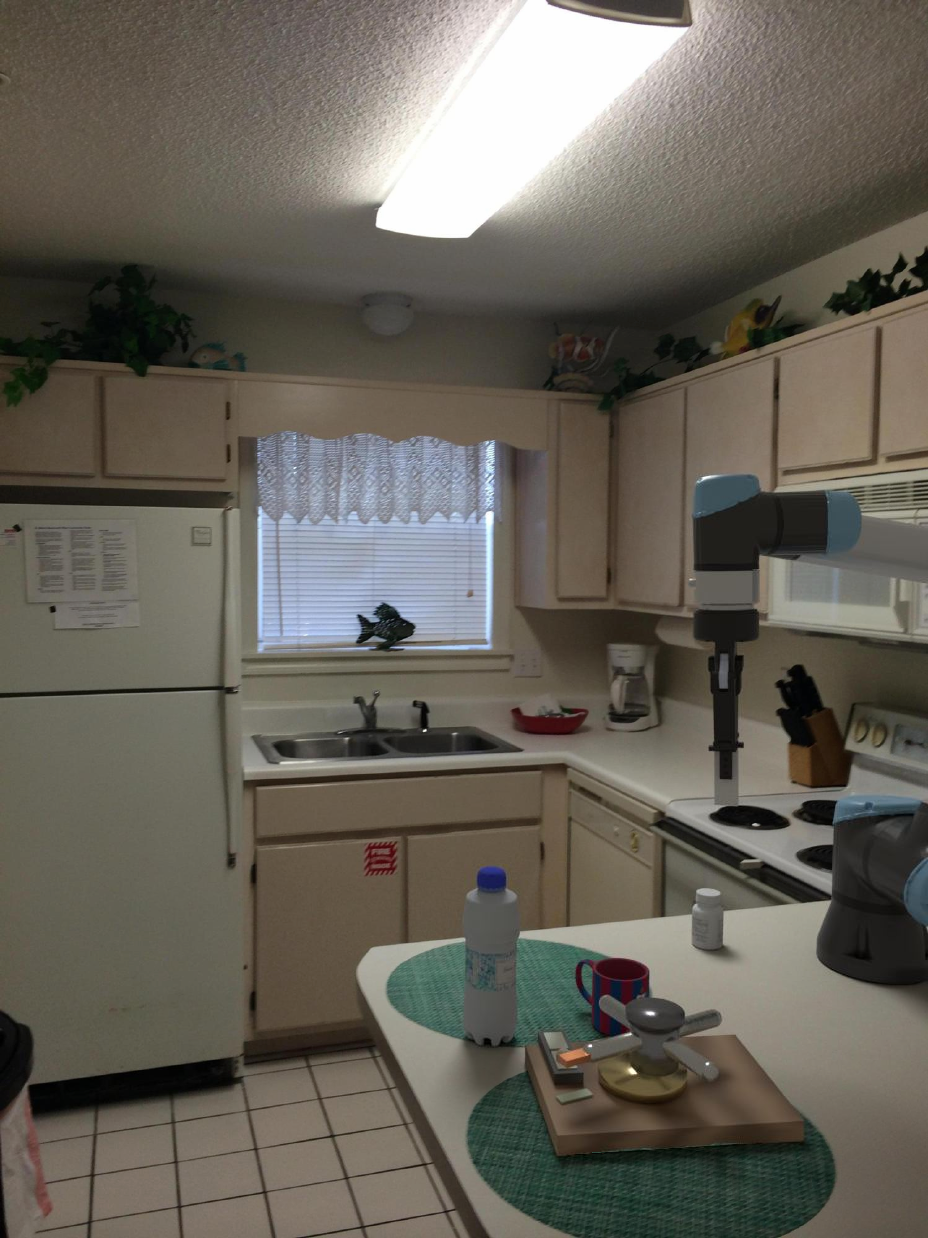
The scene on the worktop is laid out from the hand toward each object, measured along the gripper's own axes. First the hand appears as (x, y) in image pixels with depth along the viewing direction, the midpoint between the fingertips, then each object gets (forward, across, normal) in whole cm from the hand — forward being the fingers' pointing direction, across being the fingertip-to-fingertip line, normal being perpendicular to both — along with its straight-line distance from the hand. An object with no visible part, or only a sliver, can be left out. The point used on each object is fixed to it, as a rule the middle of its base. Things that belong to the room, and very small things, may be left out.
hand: (726, 803), depth 117 cm
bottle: (+26, +14, -26) cm, 39 cm away
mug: (+26, +5, -13) cm, 30 cm away
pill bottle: (+27, -22, -4) cm, 35 cm away
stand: (+26, +21, -6) cm, 34 cm away
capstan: (+23, +22, -7) cm, 33 cm away
